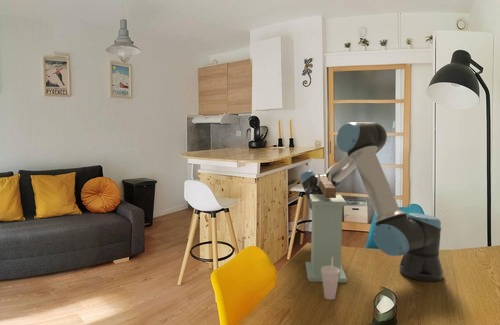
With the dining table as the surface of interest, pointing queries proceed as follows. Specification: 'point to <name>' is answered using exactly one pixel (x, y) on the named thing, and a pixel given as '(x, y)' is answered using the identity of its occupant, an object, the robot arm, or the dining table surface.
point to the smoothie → (330, 280)
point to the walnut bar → (327, 187)
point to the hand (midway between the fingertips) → (324, 177)
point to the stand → (325, 236)
